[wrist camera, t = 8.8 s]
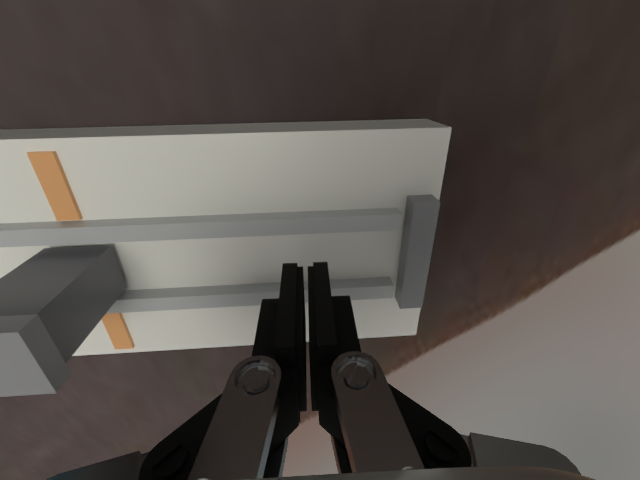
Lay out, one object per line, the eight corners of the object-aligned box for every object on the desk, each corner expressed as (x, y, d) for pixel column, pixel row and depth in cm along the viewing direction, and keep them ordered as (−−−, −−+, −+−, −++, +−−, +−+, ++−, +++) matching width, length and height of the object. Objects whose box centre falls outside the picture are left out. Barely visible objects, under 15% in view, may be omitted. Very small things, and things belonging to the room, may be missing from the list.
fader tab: (116, 241, 14) (18, 332, 9) (134, 289, 16) (56, 393, 11) (35, 244, 14) (-110, 339, 9) (60, 293, 16) (-55, 400, 11)
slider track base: (426, 118, 16) (462, 131, 12) (401, 303, 22) (421, 347, 18) (-116, 132, 15) (-246, 150, 11) (8, 325, 20) (-53, 377, 17)
